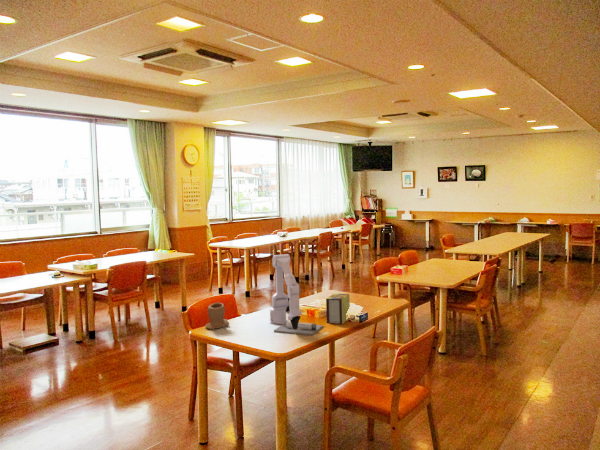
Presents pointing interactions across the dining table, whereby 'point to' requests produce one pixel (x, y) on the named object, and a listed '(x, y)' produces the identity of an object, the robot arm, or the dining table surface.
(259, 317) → the dining table surface
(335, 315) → the protein box
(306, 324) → the swing bar
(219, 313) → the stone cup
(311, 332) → the label board
